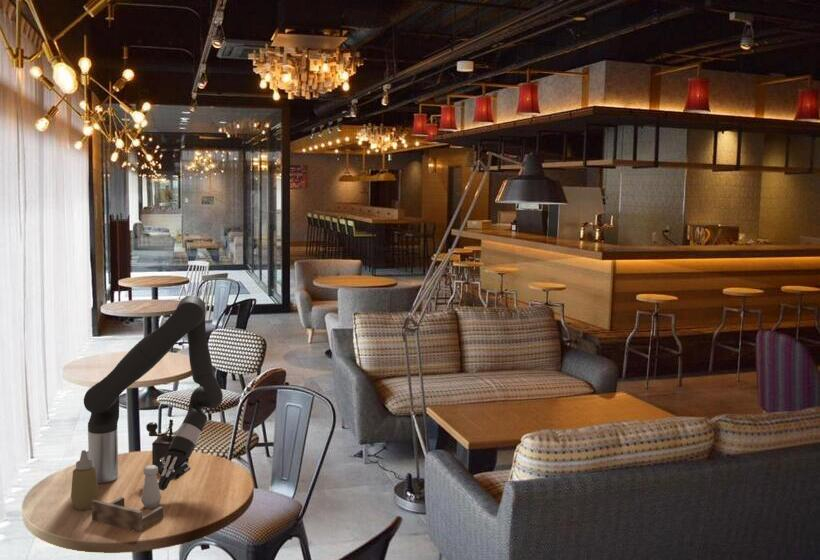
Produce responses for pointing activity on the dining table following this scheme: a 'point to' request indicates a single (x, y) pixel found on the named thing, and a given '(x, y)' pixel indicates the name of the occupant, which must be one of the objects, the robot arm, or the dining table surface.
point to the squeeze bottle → (84, 483)
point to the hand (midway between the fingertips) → (160, 489)
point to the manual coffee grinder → (160, 440)
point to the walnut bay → (123, 515)
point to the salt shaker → (151, 488)
